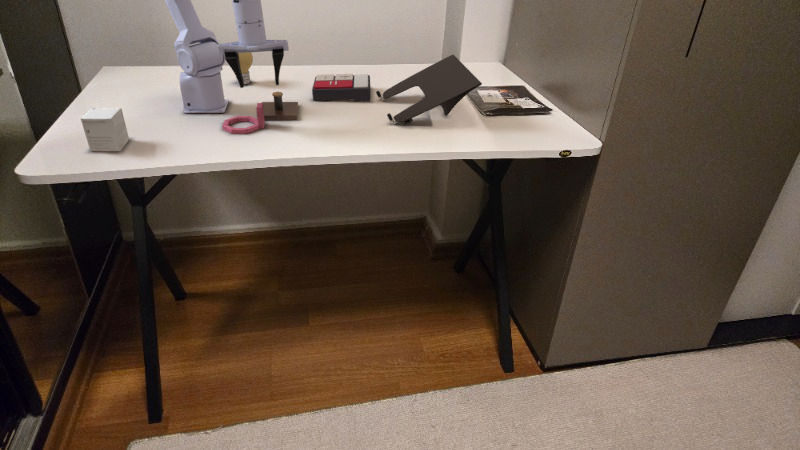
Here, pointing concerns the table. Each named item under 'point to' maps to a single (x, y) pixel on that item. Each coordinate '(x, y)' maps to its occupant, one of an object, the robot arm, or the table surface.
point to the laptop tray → (434, 88)
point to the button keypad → (342, 87)
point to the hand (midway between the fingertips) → (260, 85)
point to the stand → (280, 109)
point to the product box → (105, 129)
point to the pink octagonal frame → (257, 125)
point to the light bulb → (245, 66)
